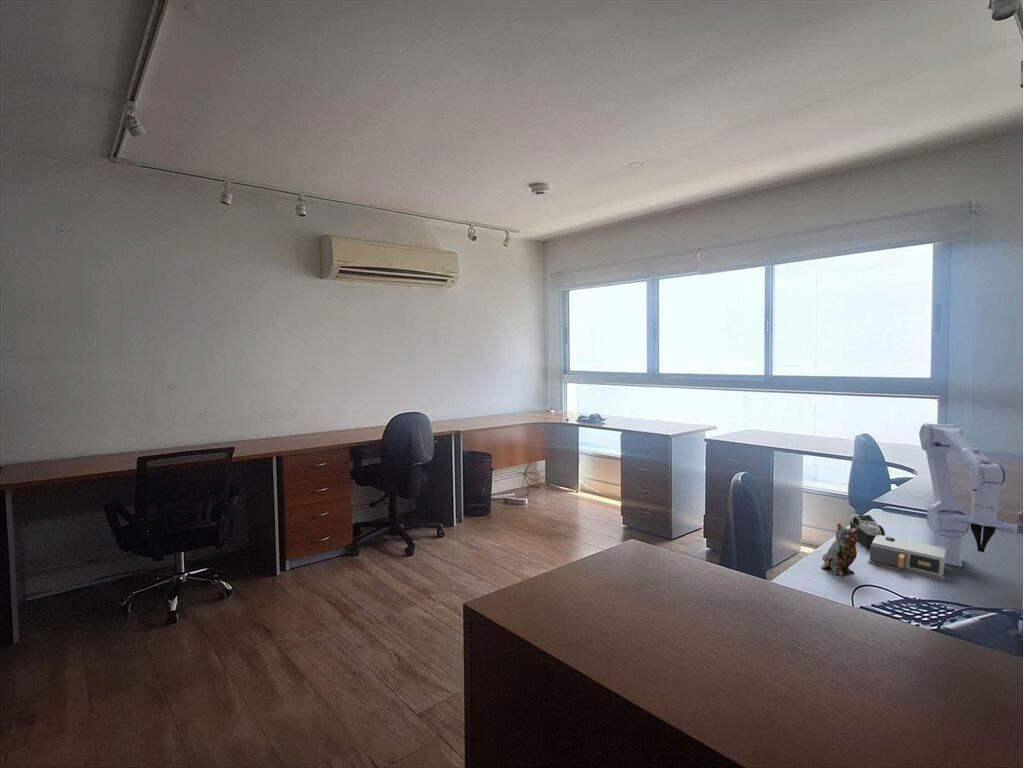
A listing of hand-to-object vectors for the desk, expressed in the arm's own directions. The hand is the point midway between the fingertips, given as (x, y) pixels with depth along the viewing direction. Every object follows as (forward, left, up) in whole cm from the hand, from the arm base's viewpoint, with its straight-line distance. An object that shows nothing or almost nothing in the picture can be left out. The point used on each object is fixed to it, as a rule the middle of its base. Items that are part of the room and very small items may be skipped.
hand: (980, 550), depth 157 cm
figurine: (+19, -32, -10) cm, 38 cm away
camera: (-14, -29, -10) cm, 33 cm away
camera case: (-1, -17, -9) cm, 19 cm away
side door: (+6, -21, -9) cm, 24 cm away
